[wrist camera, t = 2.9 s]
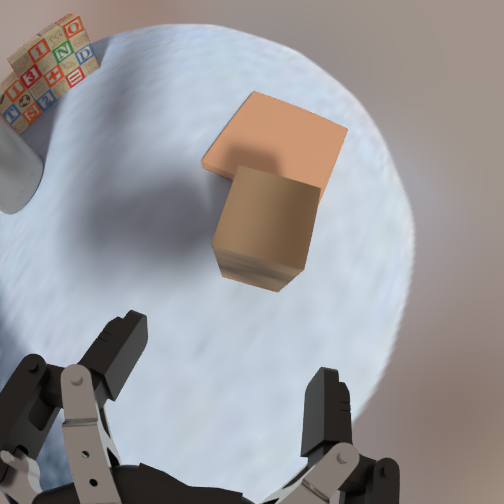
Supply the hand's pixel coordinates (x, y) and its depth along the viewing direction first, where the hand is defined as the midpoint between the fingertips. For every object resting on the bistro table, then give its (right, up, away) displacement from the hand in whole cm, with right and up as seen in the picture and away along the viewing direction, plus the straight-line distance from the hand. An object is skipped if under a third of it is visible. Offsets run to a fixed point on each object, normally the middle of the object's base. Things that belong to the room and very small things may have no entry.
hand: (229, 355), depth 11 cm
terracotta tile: (+4, +16, +16) cm, 23 cm away
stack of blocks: (-34, +30, +19) cm, 49 cm away
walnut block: (+1, +4, +13) cm, 14 cm away
